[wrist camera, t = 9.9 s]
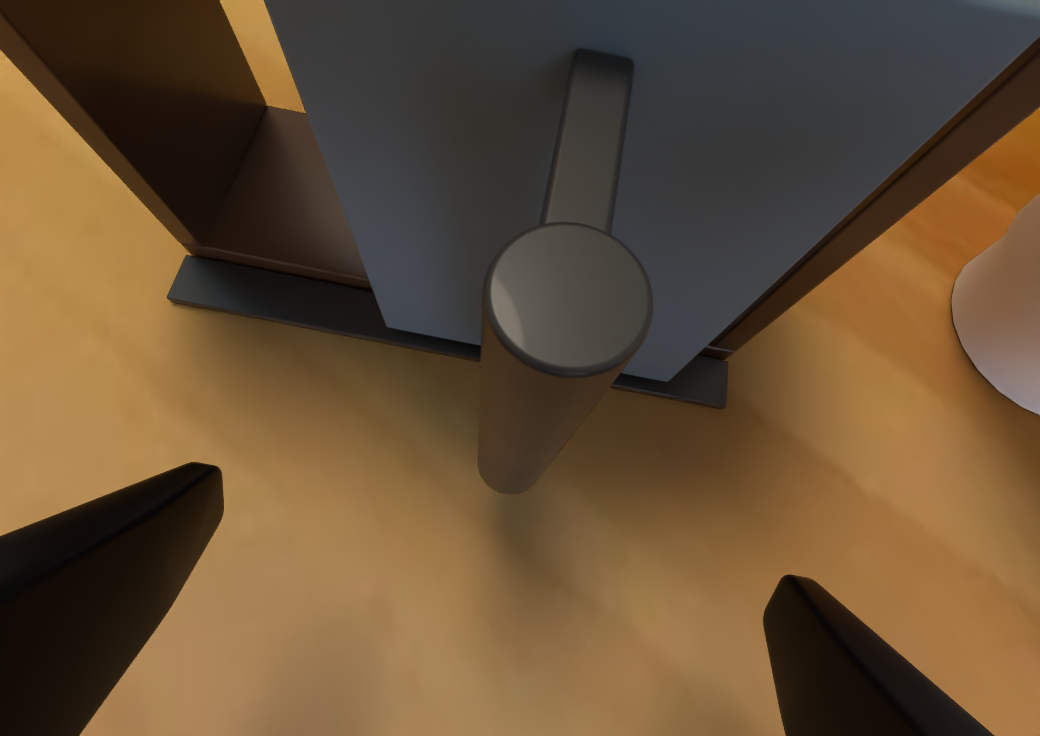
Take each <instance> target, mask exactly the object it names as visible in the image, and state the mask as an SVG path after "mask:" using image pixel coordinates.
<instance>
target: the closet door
mask: <svg viewBox="0 0 1040 736" xmlns="http://www.w3.org/2000/svg"><path fill="white" fill-rule="evenodd" d="M264 2H265V5H266V8H267V10H268V13H269V16H270V18H271V21H272V24H273V26H274V29H275V32H276V34H277V37H278V40H279V42H280V45H281V47H282V50H283V53H284V55H285V58H286V61H287V63H288V66H289V69H290V71H291V74H292V77H293V79H294V82H295V85H296V87H297V90H298V93H299V95H300V98H301V101H302V103H303V106H304V109H305V111H306V114H307V117H308V119H309V122H310V125H311V127H312V130H313V132H314V135H315V138H316V140H317V143H318V146H319V148H320V151H321V154H322V156H323V159H324V162H325V164H326V167H327V170H328V172H329V175H330V178H331V180H332V183H333V186H334V188H335V191H336V194H337V196H338V199H339V202H340V204H341V207H342V209H343V212H344V215H345V217H346V220H347V223H348V225H349V228H350V231H351V233H352V236H353V239H354V241H355V244H356V247H357V249H358V252H359V255H360V257H361V260H362V263H363V265H364V268H365V271H366V273H367V276H368V279H369V281H370V284H371V287H372V289H373V292H374V294H375V297H376V300H377V302H378V305H379V308H380V310H381V313H382V316H383V318H384V321H385V324H386V326H387V327H388V328H394V329H399V330H404V331H409V332H414V333H419V334H424V335H429V336H434V337H440V338H445V339H450V340H455V341H460V342H465V343H470V344H475V345H481V364H480V398H479V433H478V469H479V472H480V475H481V477H482V479H483V480H484V482H485V483H486V484H487V485H488V486H489V487H490V488H492V489H493V490H495V491H497V492H499V493H503V494H518V493H522V492H524V491H526V490H528V489H529V488H530V487H532V486H533V485H534V484H535V483H536V481H537V480H538V479H539V477H540V476H541V475H542V474H543V472H544V471H545V470H546V468H547V467H548V466H549V464H550V463H551V462H552V461H553V459H554V458H555V457H556V455H557V454H558V453H559V452H560V450H561V449H562V448H563V446H564V445H565V444H566V443H567V441H568V440H569V439H570V437H571V436H572V435H573V434H574V432H575V431H576V430H577V428H578V427H579V426H580V424H581V423H582V422H583V421H584V419H585V418H586V417H587V415H588V414H589V413H590V412H591V410H592V409H593V408H594V406H595V405H596V404H597V403H598V401H599V400H600V399H601V397H602V396H603V395H604V394H605V392H606V391H607V390H608V388H609V387H610V386H611V384H612V383H613V382H614V381H615V379H616V378H617V377H618V375H619V374H620V373H624V374H629V375H634V376H639V377H644V378H649V379H654V380H660V381H665V382H667V381H669V380H670V379H671V378H672V377H673V376H675V375H676V374H677V373H678V372H679V371H680V370H681V369H682V368H683V367H684V366H685V365H686V364H687V363H689V362H690V361H691V360H692V359H693V358H694V357H695V356H696V355H697V354H698V353H699V352H700V351H701V350H703V349H704V348H705V347H706V346H707V345H708V344H709V343H710V342H711V341H712V340H713V339H714V338H715V337H717V336H718V335H719V334H720V333H721V332H722V331H723V330H724V329H725V328H726V327H727V326H728V325H729V324H731V323H732V322H733V321H734V320H735V319H736V318H737V317H738V316H739V315H740V314H741V313H742V312H743V311H745V310H746V309H747V308H748V307H749V306H750V305H751V304H752V303H753V302H754V301H755V300H756V299H757V298H759V297H760V296H761V295H762V294H763V293H764V292H765V291H766V290H767V289H768V288H769V287H770V286H771V285H773V284H774V283H775V282H776V281H777V280H778V279H779V278H780V277H781V276H782V275H783V274H784V273H785V272H787V271H788V270H789V269H790V268H791V267H792V266H793V265H794V264H795V263H796V262H797V261H798V260H799V259H801V258H802V257H803V256H804V255H805V254H806V253H807V252H808V251H809V250H810V249H811V248H812V247H814V246H815V245H816V244H817V243H818V242H819V241H820V240H821V239H822V238H823V237H824V236H825V235H826V234H828V233H829V232H830V231H831V230H832V229H833V228H834V227H835V226H836V225H837V224H838V223H839V222H840V221H842V220H843V219H844V218H845V217H846V216H847V215H848V214H849V213H850V212H851V211H852V210H853V209H854V208H856V207H857V206H858V205H859V204H860V203H861V202H862V201H863V200H864V199H865V198H866V197H867V196H868V195H870V194H871V193H872V192H873V191H874V190H875V189H876V188H877V187H878V186H879V185H880V184H881V183H882V182H884V181H885V180H886V179H887V178H888V177H889V176H890V175H891V174H892V173H893V172H894V171H895V170H896V169H898V168H899V167H900V166H901V165H902V164H903V163H904V162H905V161H906V160H907V159H908V158H909V157H910V156H912V155H913V154H914V153H915V152H916V151H917V150H918V149H919V148H920V147H921V146H922V145H923V144H924V143H926V142H927V141H928V140H929V139H930V138H931V137H932V136H933V135H934V134H935V133H936V132H937V131H938V130H940V129H941V128H942V127H943V126H944V125H945V124H946V123H947V122H948V121H949V120H950V119H951V118H952V117H954V116H955V115H956V114H957V113H958V112H959V111H960V110H961V109H962V108H963V107H964V106H965V105H966V104H968V103H969V102H970V101H971V100H972V99H973V98H974V97H975V96H976V95H977V94H978V93H979V92H980V91H982V90H983V89H984V88H985V87H986V86H987V85H988V84H989V83H990V82H991V81H992V80H993V79H995V78H996V77H997V76H998V75H999V74H1000V73H1001V72H1002V71H1003V70H1004V69H1005V68H1006V67H1007V66H1009V65H1010V64H1011V63H1012V62H1013V61H1014V60H1015V59H1016V58H1017V57H1018V56H1019V55H1020V54H1021V53H1023V52H1024V51H1025V50H1026V49H1027V48H1028V47H1029V46H1030V45H1031V44H1032V43H1033V42H1034V41H1035V40H1037V39H1038V38H1039V37H1040V0H264Z"/></svg>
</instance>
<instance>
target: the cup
mask: <svg viewBox="0 0 1040 736" xmlns="http://www.w3.org/2000/svg"><path fill="white" fill-rule="evenodd" d="M951 303H952V313H953V322H954V325H955V328H956V331H957V333H958V336H959V339H960V341H961V344H962V346H963V348H964V349H965V351H966V353H967V354H968V356H969V357H970V359H971V360H972V362H973V363H974V365H975V366H976V368H977V369H978V370H979V372H980V373H981V374H982V375H983V376H984V377H985V378H986V379H987V380H988V381H989V382H990V383H991V384H992V385H993V386H994V387H995V388H996V389H997V390H998V391H1000V392H1001V393H1002V394H1004V395H1005V396H1007V397H1008V398H1009V399H1011V400H1012V401H1014V402H1015V403H1017V404H1018V405H1019V406H1021V407H1023V408H1025V409H1027V410H1030V411H1032V412H1034V413H1036V414H1039V415H1040V193H1039V194H1038V195H1037V196H1036V197H1035V198H1033V199H1032V200H1031V201H1030V202H1029V203H1027V204H1026V205H1025V206H1024V207H1023V208H1022V209H1020V210H1019V211H1018V212H1017V214H1016V216H1015V217H1014V219H1013V221H1012V222H1011V224H1010V226H1009V227H1008V229H1007V231H1006V234H1005V235H1004V236H1002V237H1001V238H1000V239H998V240H997V241H996V242H995V243H993V244H992V245H991V246H989V247H988V248H987V249H985V250H984V251H983V252H982V253H980V254H979V255H978V256H976V257H975V258H974V259H972V260H971V261H970V262H968V263H967V264H966V265H965V266H964V267H963V269H962V271H961V272H960V274H959V276H958V277H957V279H956V280H955V284H954V289H953V294H952V299H951Z"/></svg>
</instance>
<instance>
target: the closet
mask: <svg viewBox="0 0 1040 736" xmlns="http://www.w3.org/2000/svg"><path fill="white" fill-rule="evenodd" d="M0 50H1V51H2V52H3V53H4V54H5V55H6V56H7V57H8V58H9V60H10V61H11V62H12V63H13V64H14V65H15V66H16V67H17V68H18V69H19V70H20V71H21V72H22V74H23V75H24V76H25V77H26V78H27V79H28V80H29V81H30V82H31V83H32V84H33V85H34V86H35V88H36V89H37V90H38V91H39V92H40V93H41V94H42V95H43V96H44V97H45V98H46V99H47V100H48V102H49V103H50V104H51V105H52V106H53V107H54V108H55V109H56V110H57V111H58V112H59V113H60V114H61V116H62V117H63V118H64V119H65V120H66V121H67V122H68V123H69V124H70V125H71V126H72V127H73V128H74V130H75V131H76V132H77V133H78V134H79V135H80V136H81V137H82V138H83V139H84V140H85V141H86V142H87V144H88V145H89V146H90V147H91V148H92V149H93V150H94V151H95V152H96V153H97V154H98V155H99V156H100V158H101V159H102V160H103V161H104V162H105V163H106V164H107V165H108V166H109V167H110V168H111V169H112V170H113V172H114V173H115V174H116V175H117V176H118V177H119V178H120V179H121V180H122V181H123V182H124V183H125V185H126V186H127V187H128V188H129V189H130V190H131V191H132V192H133V193H134V194H135V195H136V196H137V197H138V199H139V200H140V201H141V202H142V203H143V204H144V205H145V206H146V207H147V208H148V209H149V210H150V211H151V213H152V214H153V215H154V216H155V217H156V218H157V219H158V220H159V221H160V222H161V223H162V224H163V225H164V227H165V228H166V229H167V230H168V231H169V232H170V233H171V234H172V235H173V236H174V237H175V238H176V239H177V241H178V242H180V243H181V244H182V245H183V246H184V247H185V249H186V250H187V251H188V252H189V253H190V254H191V255H193V256H189V255H186V256H185V258H184V260H183V263H182V265H181V267H180V269H179V271H178V274H177V276H176V278H175V280H174V282H173V285H172V287H171V289H170V291H169V293H168V296H167V299H169V300H170V301H171V302H175V303H180V304H185V305H190V306H195V307H201V308H206V309H211V310H216V311H221V312H226V313H231V314H237V315H242V316H247V317H252V318H257V319H262V320H267V321H272V322H278V323H283V324H288V325H293V326H298V327H303V328H308V329H313V330H319V331H324V332H329V333H334V334H339V335H344V336H349V337H354V338H360V339H365V340H370V341H375V342H380V343H385V344H390V345H395V346H401V347H406V348H411V349H416V350H421V351H426V352H431V353H437V354H442V355H447V356H452V357H457V358H462V359H467V360H472V361H478V362H481V345H475V344H470V343H465V342H460V341H455V340H450V339H445V338H440V337H434V336H429V335H424V334H419V333H414V332H409V331H404V330H399V329H394V328H388V327H387V326H386V324H385V321H384V318H383V316H382V313H381V310H380V308H379V305H378V302H377V300H376V297H375V294H374V292H372V291H373V289H372V287H371V284H370V281H369V279H368V276H367V273H366V271H365V268H364V265H363V263H362V260H361V257H360V255H359V252H358V249H357V247H356V244H355V241H354V239H353V236H352V233H351V231H350V228H349V225H348V223H347V220H346V217H345V215H344V212H343V209H342V207H341V204H340V202H339V199H338V196H337V194H336V191H335V188H334V186H333V183H332V180H331V178H330V175H329V172H328V170H327V167H326V164H325V162H324V159H323V156H322V154H321V151H320V148H319V146H318V143H317V140H316V138H315V135H314V132H313V130H312V127H311V125H310V122H309V119H308V117H307V114H306V113H301V112H296V111H291V110H286V109H281V108H276V107H271V106H266V102H265V99H264V97H263V95H262V93H261V91H260V88H259V86H258V84H257V82H256V80H255V77H254V75H253V73H252V71H251V69H250V66H249V64H248V62H247V60H246V58H245V56H244V53H243V51H242V49H241V47H240V45H239V42H238V40H237V38H236V36H235V34H234V31H233V29H232V27H231V25H230V23H229V20H228V18H227V16H226V14H225V12H224V9H223V7H222V5H221V3H220V1H219V0H0ZM1039 107H1040V37H1039V38H1038V39H1037V40H1035V41H1034V42H1033V43H1032V44H1031V45H1030V46H1029V47H1028V48H1027V49H1026V50H1025V51H1024V52H1023V53H1021V54H1020V55H1019V56H1018V57H1017V58H1016V59H1015V60H1014V61H1013V62H1012V63H1011V64H1010V65H1009V66H1007V67H1006V68H1005V69H1004V70H1003V71H1002V72H1001V73H1000V74H999V75H998V76H997V77H996V78H995V79H993V80H992V81H991V82H990V83H989V84H988V85H987V86H986V87H985V88H984V89H983V90H982V91H980V92H979V93H978V94H977V95H976V96H975V97H974V98H973V99H972V100H971V101H970V102H969V103H968V104H966V105H965V106H964V107H963V108H962V109H961V110H960V111H959V112H958V113H957V114H956V115H955V116H954V117H952V118H951V119H950V120H949V121H948V122H947V123H946V124H945V125H944V126H943V127H942V128H941V129H940V130H938V131H937V132H936V133H935V134H934V135H933V136H932V137H931V138H930V139H929V140H928V141H927V142H926V143H924V144H923V145H922V146H921V147H920V148H919V149H918V150H917V151H916V152H915V153H914V154H913V155H912V156H910V157H909V158H908V159H907V160H906V161H905V162H904V163H903V164H902V165H901V166H900V167H899V168H898V169H896V170H895V171H894V172H893V173H892V174H891V175H890V176H889V177H888V178H887V179H886V180H885V181H884V182H882V183H881V184H880V185H879V186H878V187H877V188H876V189H875V190H874V191H873V192H872V193H871V194H870V195H868V196H867V197H866V198H865V199H864V200H863V201H862V202H861V203H860V204H859V205H858V206H857V207H856V208H854V209H853V210H852V211H851V212H850V213H849V214H848V215H847V216H846V217H845V218H844V219H843V220H842V221H840V222H839V223H838V224H837V225H836V226H835V227H834V228H833V229H832V230H831V231H830V232H829V233H828V234H826V235H825V236H824V237H823V238H822V239H821V240H820V241H819V242H818V243H817V244H816V245H815V246H814V247H812V248H811V249H810V250H809V251H808V252H807V253H806V254H805V255H804V256H803V257H802V258H801V259H799V260H798V261H797V262H796V263H795V264H794V265H793V266H792V267H791V268H790V269H789V270H788V271H787V272H785V273H784V274H783V275H782V276H781V277H780V278H779V279H778V280H777V281H776V282H775V283H774V284H773V285H771V286H770V287H769V288H768V289H767V290H766V291H765V292H764V293H763V294H762V295H761V296H760V297H759V298H757V299H756V300H755V301H754V302H753V303H752V304H751V305H750V306H749V307H748V308H747V309H746V310H745V311H743V312H742V313H741V314H740V315H739V316H738V317H737V318H736V319H735V320H734V321H733V322H732V323H731V324H729V325H728V326H727V327H726V328H725V329H724V330H723V331H722V332H721V333H720V334H719V335H718V336H717V337H715V338H714V339H713V340H712V341H711V342H710V343H709V344H708V345H707V346H706V347H705V348H704V349H703V350H701V351H700V352H699V353H698V354H697V355H696V356H695V357H694V358H693V359H692V360H691V361H690V362H689V363H687V364H686V365H685V366H684V367H683V368H682V369H681V370H680V371H679V372H678V373H677V374H676V375H675V376H673V377H672V378H671V379H670V380H669V381H667V382H665V381H660V380H654V379H649V378H644V377H639V376H634V375H629V374H624V373H620V374H619V375H618V377H617V378H616V379H615V381H614V382H613V383H612V384H611V386H610V387H611V388H616V389H621V390H626V391H631V392H637V393H642V394H647V395H652V396H657V397H662V398H667V399H672V400H678V401H683V402H688V403H693V404H698V405H703V406H708V407H713V408H719V409H723V408H725V407H726V398H727V377H728V361H724V360H725V359H726V358H728V357H729V356H730V355H731V354H733V353H734V351H737V350H738V349H739V348H740V347H742V346H743V345H744V344H745V343H747V342H748V341H749V340H750V339H752V338H753V337H754V336H755V335H757V334H758V333H759V332H760V331H762V330H763V329H764V328H765V327H767V326H768V325H769V324H770V323H772V322H773V321H774V320H775V319H777V318H778V317H779V316H780V315H782V314H783V313H784V312H785V311H787V310H788V309H789V308H790V307H792V306H793V305H794V304H795V303H797V302H798V301H799V300H800V299H801V298H803V297H804V296H805V295H806V294H808V293H809V292H810V291H811V290H813V289H814V288H815V287H816V286H818V285H819V284H820V283H821V282H823V281H824V280H825V279H826V278H828V277H829V276H830V275H831V274H833V273H834V272H835V271H836V270H838V269H839V268H840V267H841V266H843V265H844V264H845V263H846V262H848V261H849V260H850V259H851V258H853V257H854V256H855V255H856V254H858V253H859V252H860V251H861V250H863V249H864V248H865V247H866V246H867V245H869V244H870V243H871V242H872V241H874V240H875V239H876V238H877V237H879V236H880V235H881V234H882V233H884V232H885V231H886V230H887V229H889V228H890V227H891V226H892V225H894V224H895V223H896V222H897V221H899V220H900V219H901V218H902V217H904V216H905V215H906V214H907V213H909V212H910V211H911V210H912V209H914V208H915V207H916V206H917V205H919V204H920V203H921V202H922V201H924V200H925V199H926V198H927V197H928V196H930V195H931V194H932V193H933V192H935V191H936V190H937V189H938V188H940V187H941V186H942V185H943V184H945V183H946V182H947V181H948V180H950V179H951V178H952V177H953V176H955V175H956V174H957V173H958V172H960V171H961V170H962V169H963V168H965V167H966V166H967V165H968V164H970V163H971V162H972V161H973V160H975V159H976V158H977V157H978V156H980V155H981V154H982V153H983V152H985V151H986V150H987V149H988V148H990V147H991V146H992V145H993V144H994V143H996V142H997V141H998V140H999V139H1001V138H1002V137H1003V136H1004V135H1006V134H1007V133H1008V132H1009V131H1011V130H1012V129H1013V128H1014V127H1016V126H1017V125H1018V124H1019V123H1021V122H1022V121H1023V120H1024V119H1026V118H1027V117H1028V116H1029V115H1031V114H1032V113H1033V112H1034V111H1036V110H1037V109H1038V108H1039ZM194 256H197V257H194ZM199 257H202V258H199ZM204 258H207V259H204ZM209 259H212V260H209ZM214 260H217V261H214ZM220 261H222V262H220ZM225 262H227V263H225ZM230 263H232V264H230ZM235 264H237V265H235ZM240 265H242V266H240ZM245 266H247V267H245ZM250 267H253V268H250ZM255 268H258V269H255ZM260 269H263V270H260ZM265 270H268V271H265ZM270 271H273V272H270ZM276 272H278V273H276ZM281 273H283V274H281ZM286 274H288V275H286ZM291 275H293V276H291ZM296 276H298V277H296ZM301 277H304V278H301ZM306 278H309V279H306ZM311 279H314V280H311ZM316 280H319V281H316ZM321 281H324V282H321ZM327 282H329V283H327ZM332 283H334V284H332ZM337 284H339V285H337ZM342 285H344V286H342ZM347 286H349V287H347ZM352 287H354V288H352ZM357 288H360V289H357ZM362 289H365V290H362ZM367 290H370V291H367ZM698 355H701V356H698ZM704 356H706V357H704ZM709 357H711V358H709ZM714 358H716V359H714ZM719 359H721V360H719Z"/></svg>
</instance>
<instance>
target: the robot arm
mask: <svg viewBox="0 0 1040 736" xmlns="http://www.w3.org/2000/svg"><path fill="white" fill-rule="evenodd" d="M223 512H224V497H223V481H222V472H221V470H220V468H219V467H217V466H215V465H209V464H204V463H199V462H190V463H187V464H184V465H182V466H179V467H177V468H174V469H172V470H169V471H166V472H164V473H161V474H159V475H156V476H154V477H151V478H148V479H146V480H143V481H141V482H138V483H136V484H133V485H130V486H128V487H125V488H123V489H120V490H118V491H115V492H112V493H110V494H107V495H105V496H102V497H100V498H97V499H95V500H92V501H89V502H87V503H84V504H82V505H79V506H77V507H74V508H71V509H69V510H66V511H64V512H61V513H59V514H56V515H53V516H51V517H48V518H46V519H43V520H41V521H38V522H35V523H33V524H30V525H28V526H25V527H23V528H20V529H17V530H15V531H12V532H10V533H7V534H5V535H2V536H0V736H79V735H80V734H81V732H82V731H83V730H84V728H85V727H86V725H87V724H88V723H89V721H90V720H91V718H92V717H93V716H94V714H95V713H96V712H97V710H98V709H99V707H100V706H101V705H102V703H103V702H104V700H105V699H106V698H107V696H108V695H109V694H110V692H111V691H112V689H113V688H114V687H115V685H116V684H117V682H118V681H119V680H120V678H121V677H122V676H123V674H124V673H125V671H126V670H127V669H128V667H129V666H130V664H131V663H132V662H133V660H134V659H135V658H136V656H137V655H138V653H139V652H140V651H141V649H142V648H143V646H144V645H145V644H146V642H147V641H148V640H149V638H150V637H151V635H152V634H153V633H154V631H155V630H156V628H157V627H158V626H159V624H160V623H161V621H162V620H163V618H164V617H165V615H166V614H167V613H168V611H169V609H170V608H171V606H172V604H173V603H174V601H175V600H176V598H177V596H178V595H179V593H180V591H181V589H182V588H183V586H184V584H185V582H186V581H187V579H188V577H189V576H190V574H191V572H192V570H193V569H194V567H195V565H196V563H197V562H198V560H199V558H200V557H201V555H202V553H203V551H204V550H205V548H206V546H207V544H208V543H209V541H210V539H211V538H212V536H213V534H214V532H215V531H216V529H217V527H218V525H219V524H220V522H221V519H222V516H223ZM763 625H764V631H765V636H766V642H767V647H768V652H769V657H770V662H771V667H772V673H773V678H774V683H775V688H776V693H777V698H778V704H779V709H780V713H781V718H782V722H783V726H784V730H785V734H786V736H994V735H993V734H992V733H991V732H990V731H988V730H987V729H986V728H985V727H984V726H983V725H981V724H980V723H979V722H978V721H977V720H976V719H975V718H973V717H972V716H971V715H970V714H969V713H968V712H966V711H965V710H964V709H963V708H962V707H961V706H959V705H958V704H957V703H956V702H955V701H954V700H952V699H951V698H950V697H949V696H948V695H947V694H946V693H944V692H943V691H942V690H941V689H940V688H939V687H937V686H936V685H935V684H934V683H933V682H932V681H930V680H929V679H928V678H927V677H926V676H925V675H924V674H922V673H921V672H920V671H919V670H918V669H917V668H915V667H914V666H913V665H912V664H911V663H910V662H908V661H907V660H906V659H905V658H904V657H903V656H902V655H900V654H899V653H898V652H897V651H896V650H895V649H893V648H892V647H891V646H890V645H889V644H888V643H886V642H885V641H884V640H883V639H882V638H881V637H880V636H878V635H877V634H876V633H875V632H874V631H873V630H871V629H870V628H869V627H868V626H867V625H866V624H864V623H863V622H862V621H861V620H860V619H859V618H858V617H856V616H855V615H854V614H853V613H852V612H851V611H849V610H848V609H847V608H846V607H845V606H844V605H842V604H841V603H840V602H839V601H838V600H837V599H836V598H834V597H833V596H832V595H831V594H830V593H829V592H827V591H826V590H825V589H824V588H823V587H822V586H820V585H819V584H818V583H817V582H816V581H814V580H813V579H810V578H806V577H801V576H796V575H785V576H783V577H782V578H781V580H780V581H779V583H778V585H777V587H776V589H775V591H774V593H773V595H772V597H771V599H770V600H769V602H768V604H767V606H766V608H765V611H764V616H763Z"/></svg>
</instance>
